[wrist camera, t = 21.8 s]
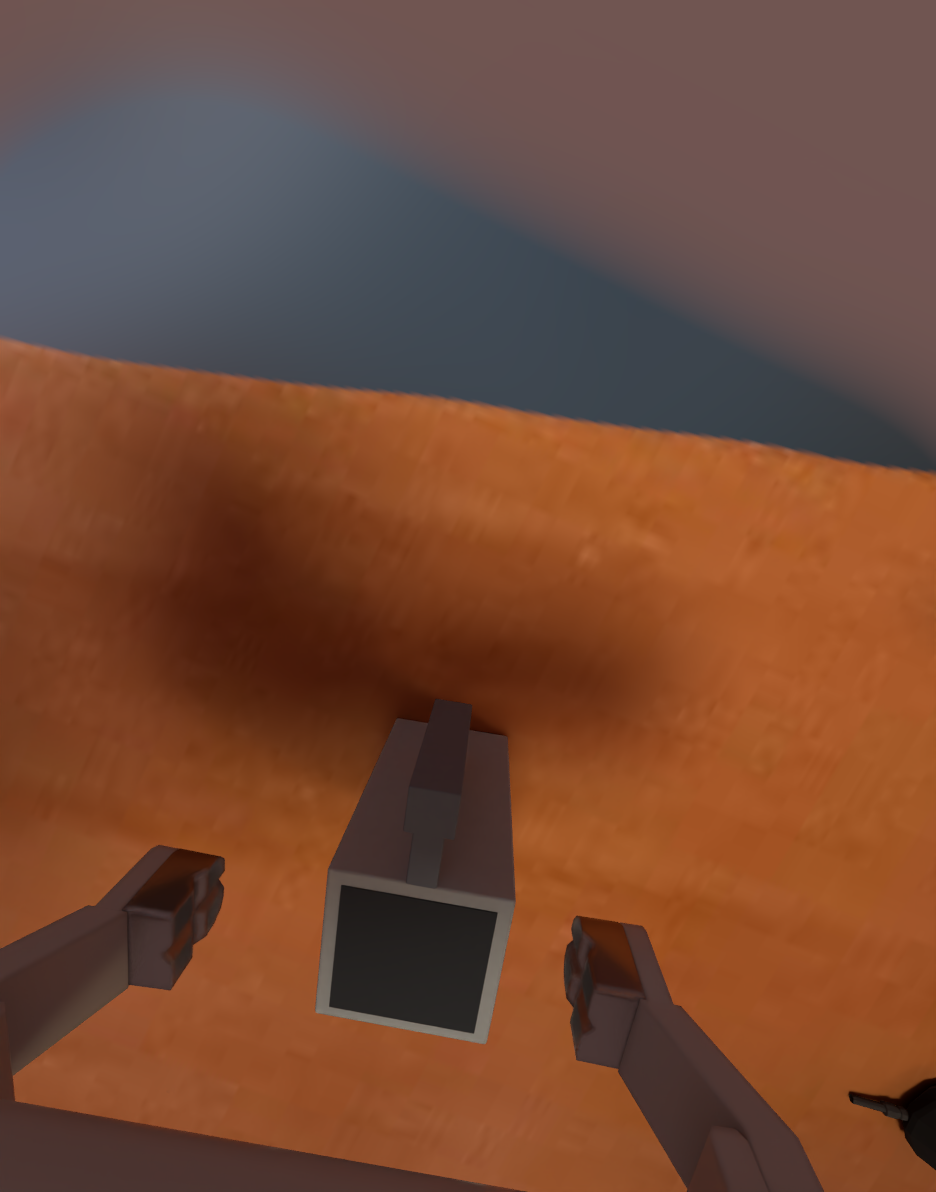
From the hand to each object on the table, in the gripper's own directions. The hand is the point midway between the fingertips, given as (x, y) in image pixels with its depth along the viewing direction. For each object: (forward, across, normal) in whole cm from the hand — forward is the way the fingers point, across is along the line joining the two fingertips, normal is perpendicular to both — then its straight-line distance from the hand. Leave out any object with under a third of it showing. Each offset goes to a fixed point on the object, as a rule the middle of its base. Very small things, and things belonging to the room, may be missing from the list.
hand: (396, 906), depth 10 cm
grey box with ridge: (+8, +1, -9) cm, 12 cm away
